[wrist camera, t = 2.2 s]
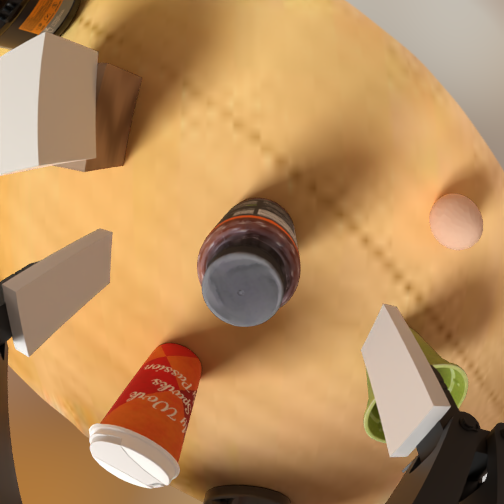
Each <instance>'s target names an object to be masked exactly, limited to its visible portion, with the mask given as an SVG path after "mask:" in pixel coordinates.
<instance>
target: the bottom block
mask: <svg viewBox="0 0 504 504" xmlns="http://www.w3.org/2000/svg"><path fill="white" fill-rule="evenodd" d="M141 81H142V77H139V76H137V75H135V74H133V73H130V72H128V71H126V70H123V69H121V68H118V67H116V66H114V65H111V64H109V63H98V64H97V80H96V114H95V126H96V158H93V159H87V160H80V161H74V162H68V163H62V164H57V165H52V166H57V167H62V168H68V169H73V170H78V171H83V172H87V171H93V170H99V169H105V168H111V167H118V166H123V163H124V158H125V152H126V147H127V141H128V136H129V131H130V127H131V122H132V117H133V113H134V109H135V104H136V100H137V96H138V92H139V88H140V85H141Z"/></svg>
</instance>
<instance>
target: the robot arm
mask: <svg viewBox="0 0 504 504" xmlns="http://www.w3.org/2000/svg"><path fill="white" fill-rule="evenodd" d="M111 246H112V232H110V231H107V230H103V229H98V230H96V231H94V232H92V233H90V234H88V235H86V236H84V237H82V238H81V239H79V240H77V241H75V242H73V243H71V244H69V245H68V246H66V247H64V248H62V249H60V250H59V251H57V252H55V253H53V254H51V255H50V256H48V257H46V258H44V259H43V260H41V261H38V262H35V263H31V264H29V265H27V266H25V267H24V268H22V270H19V271H17V272H15V274H12V275H10V276H9V277H7V278H5V279H4V280H2V281H1V282H0V504H22V501H21V496H20V492H19V488H18V483H17V478H16V473H15V467H14V460H13V454H12V446H11V438H10V428H9V414H8V390H7V389H8V388H7V372H8V370H7V368H8V345H7V340H8V339H10V338H11V337H12V338H13V342H14V346H15V349H17V350H18V351H20V352H21V353H23V354H25V355H26V356H28V357H30V356H31V355H32V354H33V353H34V352H35V351H36V350H37V349H38V348H39V347H40V346H41V345H42V344H43V343H44V342H45V341H46V340H47V339H48V338H49V337H50V336H51V335H52V334H53V333H55V332H56V331H57V330H58V329H59V328H60V327H61V326H62V325H63V324H64V323H65V322H66V321H67V320H68V319H70V318H71V317H72V316H73V315H74V314H75V313H76V312H77V311H78V310H79V309H81V308H82V307H83V306H84V305H85V304H86V303H87V302H88V301H90V300H91V299H92V298H93V297H94V296H95V295H96V294H97V293H99V292H100V291H101V290H102V289H103V288H104V287H106V286H107V285H108V284H109V283H110V263H111ZM361 352H362V355H363V358H364V362H365V365H366V368H367V372H368V375H369V379H370V382H371V386H372V389H373V393H374V397H375V400H376V404H377V408H378V411H379V415H380V419H381V423H382V427H383V431H384V435H385V439H386V443H387V448H388V452H389V456H390V457H407V456H408V455H409V454H410V453H411V452H412V451H413V450H414V449H415V448H417V451H418V454H419V455H418V456H417V457H416V458H415V459H414V460H413V461H412V462H411V463H410V464H409V465H407V466H406V467H405V468H404V469H403V470H402V472H403V473H404V472H405V471H406V470H407V471H406V473H405V475H404V476H403V478H402V479H401V481H400V483H399V484H398V486H397V487H396V489H395V490H394V492H393V493H392V495H391V496H390V498H389V499H388V501H387V502H386V503H385V504H504V423H498V424H497V425H496V426H495V427H494V428H493V429H492V430H491V431H486V430H482V429H480V426H479V423H478V422H477V420H476V419H475V418H474V417H473V416H472V415H470V414H468V413H466V412H461V411H459V409H458V407H457V405H456V403H455V401H454V399H453V397H452V395H451V393H450V391H449V390H448V387H447V386H446V384H445V383H444V380H443V378H442V376H441V374H440V373H439V372H438V371H437V369H436V368H435V367H434V366H433V365H430V364H429V362H428V361H427V359H426V357H425V355H424V353H423V351H422V350H421V348H420V346H419V344H418V342H417V341H416V339H415V337H414V335H413V334H412V332H411V330H410V328H409V327H408V325H407V323H406V322H405V320H404V318H403V316H402V315H401V313H400V311H399V310H398V308H397V307H395V306H391V305H387V304H383V305H382V308H381V310H380V312H379V314H378V316H377V318H376V321H375V323H374V325H373V327H372V329H371V331H370V333H369V335H368V337H367V339H366V341H365V343H364V345H363V347H362V349H361ZM485 474H487V477H486V480H485V481H484V482H483V483H482V477H483V476H484V475H485ZM203 504H291V502H290V500H289V499H288V498H287V497H286V496H284V495H283V494H281V493H278V492H275V491H272V490H269V489H264V488H259V487H252V486H238V485H232V486H221V487H216V488H213V489H210V490H209V491H207V492H206V494H205V499H204V503H203Z"/></svg>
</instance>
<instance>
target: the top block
mask: <svg viewBox="0 0 504 504" xmlns="http://www.w3.org/2000/svg"><path fill="white" fill-rule="evenodd" d="M97 64H98V52H97V51H95V50H92V49H90V48H88V47H85V46H83V45H80V44H78V43H75V42H72V41H70V40H67V39H65V38H62V37H59V36H56V35H54V34H51V33H48V32H44V33H42V34H40V35H38V36H36V37H34V38H32V39H30V40H28V41H27V42H25V43H23V44H21V45H19V46H18V47H16V48H14V49H12V50H11V51H9V52H7V53H6V54H4V55H3V56H1V57H0V176H2V175H7V174H11V173H16V172H22V171H27V170H31V169H36V168H41V167H46V166H51V165H57V164H62V163H68V162H74V161H80V160H87V159H93V158H96V126H95V114H96V80H97Z"/></svg>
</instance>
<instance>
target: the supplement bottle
mask: <svg viewBox="0 0 504 504" xmlns="http://www.w3.org/2000/svg"><path fill="white" fill-rule="evenodd" d="M197 271H198V277H199V281H200V284H201V286H202V294H203V298H204V301H205V303H206V304H207V306H208V308H209V309H210V311H211V312H212V313H213V314H214V315H215V316H217V317H218V318H219V319H221V320H222V321H224V322H226V323H228V324H231V325H234V326H242V327H249V326H255V325H259V324H261V323H263V322H265V321H267V320H268V319H270V318H271V317H272V316H273V315H275V313H276V312H277V311H278V309H279V308H280V307H282V306H283V305H284V304H285V303H287V301H289V299H290V298H291V297H292V295H293V294H294V292H295V290H296V288H297V286H298V282H299V278H300V257H299V251H298V245H297V239H296V234H295V228H294V225H293V222H292V220H291V218H290V216H289V214H288V213H287V212H286V211H285V209H283V208H282V207H281V206H280V205H278V204H277V203H275V202H273V201H271V200H267V199H262V198H253V199H248V200H245V201H242V202H240V203H238V204H237V205H235V206H234V207H233V208H231V209H230V211H229V212H228V213H227V214H226V215H225V216H224V217H223V218H222V220H221V221H220V222H219V223H218V224H217V225H216V226H215V228H214V229H213V230H212V231H211V232H210V234H209V235H208V236H207V237H206V239H205V241H204V243H203V245H202V247H201V249H200V252H199V255H198V262H197Z"/></svg>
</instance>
